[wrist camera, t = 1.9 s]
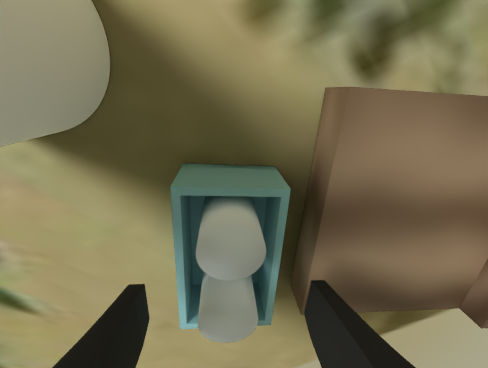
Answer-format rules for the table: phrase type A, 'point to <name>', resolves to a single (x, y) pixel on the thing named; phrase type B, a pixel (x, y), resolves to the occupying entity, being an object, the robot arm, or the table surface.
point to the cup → (49, 66)
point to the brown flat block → (398, 202)
